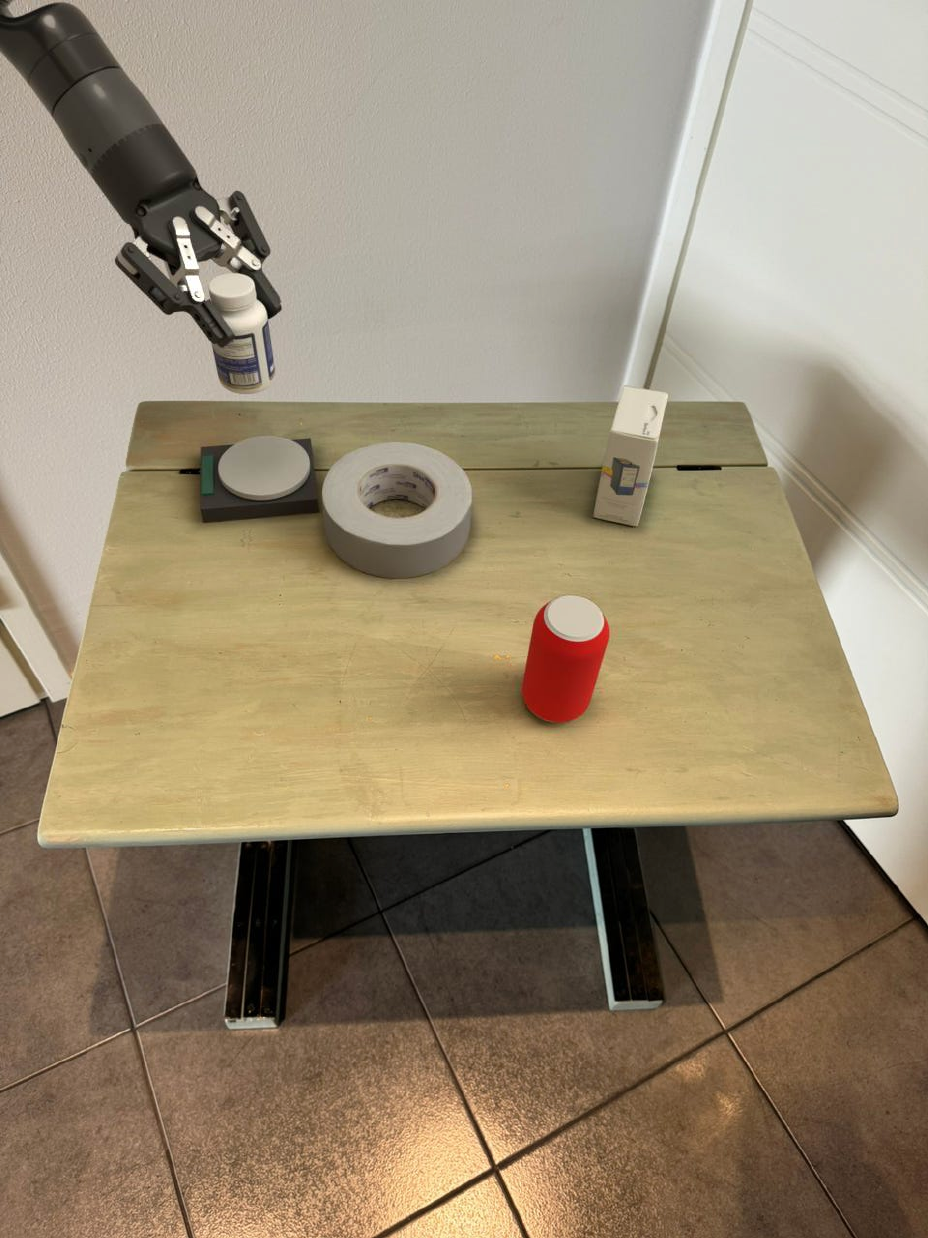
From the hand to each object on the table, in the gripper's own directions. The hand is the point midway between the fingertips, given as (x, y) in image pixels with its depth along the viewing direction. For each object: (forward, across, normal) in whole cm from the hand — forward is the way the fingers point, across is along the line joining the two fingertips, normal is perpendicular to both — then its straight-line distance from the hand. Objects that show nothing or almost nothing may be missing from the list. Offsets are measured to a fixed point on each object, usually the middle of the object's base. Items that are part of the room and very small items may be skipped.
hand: (252, 327), depth 75 cm
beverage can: (+41, -5, -13) cm, 43 cm away
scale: (+13, 0, +16) cm, 20 cm away
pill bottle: (+3, 0, +6) cm, 7 cm away
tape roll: (+24, +4, +5) cm, 24 cm away
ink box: (+35, +22, -8) cm, 43 cm away
